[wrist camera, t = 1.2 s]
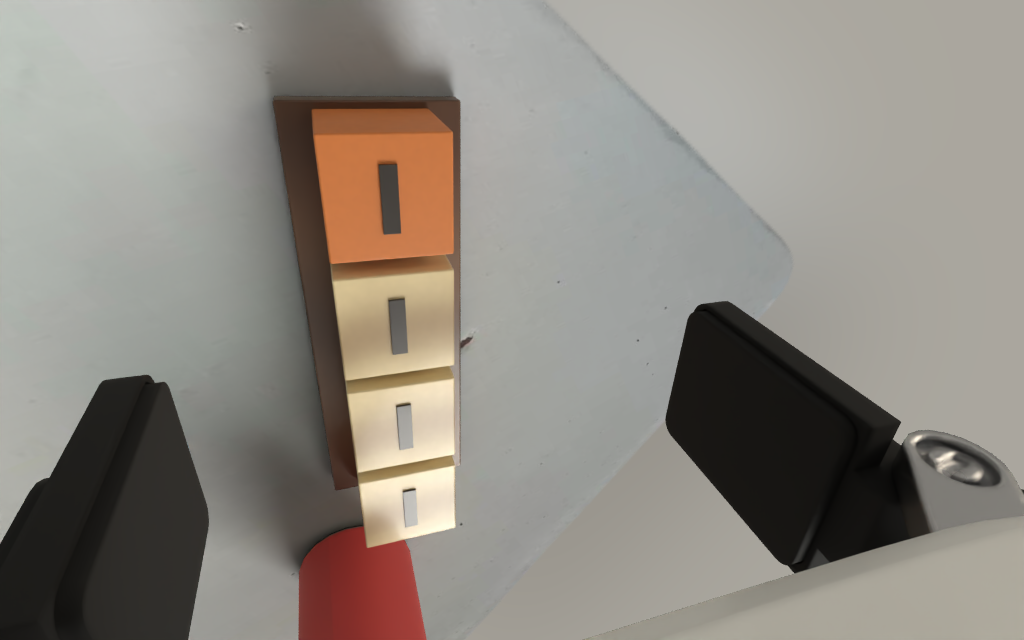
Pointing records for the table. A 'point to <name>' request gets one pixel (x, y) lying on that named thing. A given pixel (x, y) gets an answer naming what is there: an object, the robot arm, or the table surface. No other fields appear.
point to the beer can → (358, 591)
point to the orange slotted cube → (384, 183)
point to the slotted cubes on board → (381, 342)
